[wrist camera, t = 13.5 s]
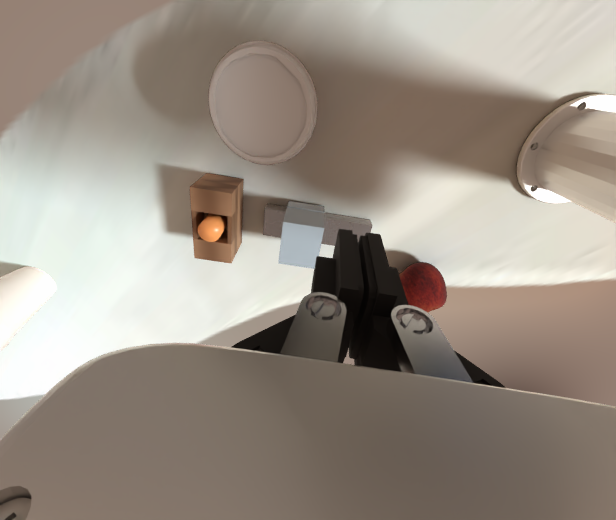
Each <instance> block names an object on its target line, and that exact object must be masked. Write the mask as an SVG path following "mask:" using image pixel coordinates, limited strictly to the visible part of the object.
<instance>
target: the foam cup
mask: <svg viewBox="0 0 616 520" xmlns="http://www.w3.org/2000/svg"><path fill="white" fill-rule="evenodd" d="M56 290H57V289H56V283H55V282H54V280H53V279H52V277H51V276H49V275H48V274H47V273H45V272H44V271H42V270H40V269H38V268H35V267H29V266H25V267H22V268H20V269H17V270H15V271H13V272H10V273H8V274H6V275H4V276H2V277H0V351H1V350H2V349H4V348H5V347H6V346H7V345H8V344H9V342H10V341H11V339H12V338H13V337H14V336H15V335H16V333H17V332H18V331H19V330H20V329H21V328H22V327H23V326H24V325H25V324H26V323H27V322H28V321H29V320H30V319H31V317H32V316H33V315H34V314H35V313H36V312H37V311H38V310H39V309H40V308H41V307H42V306H43V305H44V304H45V303H46V301H47V300H48V299H49V298H50V297H51V296H52V295H53V294H54V292H55V291H56Z"/></svg>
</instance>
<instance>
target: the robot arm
mask: <svg viewBox="0 0 616 520" xmlns="http://www.w3.org/2000/svg"><path fill="white" fill-rule="evenodd" d="M517 178H518V181H519V184H520V186H521V188H522V189H523V190H524V191H525V192H526V193H527V194H528V195H529V196H531V197H533V198H534V199H536V200H539V201H541V202H546V203H564V202H569V201H571V202H573V203H575V204H577V205H579V206H582V207H584V208H586V209H588V210H590V211H592V212H594V213H596V214H598V215H600V216H602V217H604V218H606V219H608V220H610V221H612V222H614V223H616V95H610V94H591V95H587V96H582V97H579V98H576V99H574V100H571V101H569V102H567V103H565V104H563V105H562V106H560V107H558V108H556V109H555V110H554V111H552V112H551V113H550V114H549V115H547V116H546V117H545V118H544V119H543V120H542V121H541V122H540V123H539V124H538V125H537V126H536V127H535V128H534V130H533V131H532V132H531V133H530V135H529V136H528V138H527V139H526V141H525V143H524V145H523V146H522V149H521V152H520V154H519V157H518V162H517ZM348 348H349V357H350V358H353V359H354V362H355V365H351V364H344V363H343V361H344V358H345V357H346V354H347V351H348ZM0 520H616V407H614V406H609V405H603V404H598V403H593V402H588V401H582V400H577V399H572V398H565V397H559V396H552V395H546V394H540V393H534V392H527V391H521V390H514V389H508V388H505V387H504V386H503V385H502V384H501V383H499V382H498V381H497V380H495V379H494V378H492V377H491V376H490V375H488V374H487V373H485V372H484V371H483V370H481V369H480V368H478V367H477V366H475V365H474V364H472V363H471V362H470V361H468V360H467V359H466V358H464V357H463V356H461V355H460V354H458V353H457V352H456V351H454V350H453V348H452V347H451V345H450V343H449V342H448V340H447V338H446V337H445V335H444V334H443V332H442V330H441V328H440V327H439V325H438V324H437V322H436V321H435V319H434V318H433V317H432V316H431V315H430V314H429V313H427V312H426V311H424V310H422V309H420V308H418V307H415V306H411V305H409V304H408V301H407V298H406V295H405V292H404V289H403V286H402V283H401V279H400V276H399V273H398V270H397V268H394V267H389V264H388V260H387V257H386V253H385V250H384V246H383V243H382V239H381V236H380V234H373V233H366V234H365V236H363V235H361V236H360V238H359V242H358V239H357V235H356V234H353V232H352V230H346V229H339V230H338V234H337V239H336V244H335V249H334V254H333V258H326V257H319V256H317V257H316V262H315V269H314V275H313V282H312V289H311V294H308V295H307V296H305V297H304V298H303V299H302V301H301V303H300V306H299V308H298V311H297V313H296V315H294V316H292V317H290V318H288V319H286V320H284V321H282V322H279V323H277V324H275V325H273V326H271V327H269V328H267V329H265V330H263V331H261V332H259V333H257V334H255V335H253V336H251V337H249V338H246V339H244V340H242V341H240V342H239V343H237V344H235V345H234V346H232V347H222V346H213V345H204V344H193V343H161V344H148V345H142V346H136V347H129V348H125V349H120V350H116V351H113V352H110V353H107V354H103V355H101V356H99V357H97V358H94V359H92V360H90V361H88V362H86V363H85V364H83V365H81V366H80V367H78V368H77V369H75V370H74V371H72V372H71V373H70V374H68V375H67V376H66V377H65V378H63V379H62V380H61V381H60V382H58V383H57V384H56V385H55V386H54V387H53V388H52V389H51V390H50V391H49V392H47V393H46V394H45V395H44V396H43V397H42V398H41V399H40V400H39V401H38V402H36V403H35V404H34V405H33V406H32V407H31V408H30V409H29V410H28V411H27V412H26V413H25V414H24V415H23V416H22V417H21V418H20V419H19V420H18V421H17V422H16V423H15V424H14V425H13V426H12V428H10V429H9V430H8V431H7V433H6V434H5V435H4V436H3V437H2V438H1V439H0Z"/></svg>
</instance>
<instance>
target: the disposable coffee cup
mask: <svg viewBox="0 0 616 520" xmlns="http://www.w3.org/2000/svg"><path fill="white" fill-rule="evenodd" d="M208 103H209V110H210V115H211V118H212V121H213V124H214V126H215V129H216V131H217V132H218V134H219V136H220V137H221V139H222V140H223V142H224V143H225V144H226V145H227V146H228V147H229V148H230V149H231V150H232V151H233V152H234V153H236V154H237V155H239V156H240V157H242V158H243V159H245V160H248V161H251V162H253V163H257V164H263V165H272V164H279V163H282V162H284V161H287V160H289V159H291V158H292V157H294V156H295V155H297V154H298V153H299V152H300V151H301V150H302V149H303V148H304V147H305V146H306V144H307V143H308V141H309V140H310V138H311V136H312V133H313V131H314V128H315V125H316V119H317V114H318V109H317V96H316V91H315V87H314V84H313V81H312V79H311V77H310V75H309V73H308V71H307V70H306V68H305V67H304V65H303V64H302V63H301V62H300V60H299V59H298V58H297V57H296V56H295V55H293V54H292V53H291V52H290V51H288V50H287V49H285V48H284V47H282V46H280V45H277V44H275V43H272V42H266V41H249V42H246V43H243V44H239V45H238V46H236V47H234V48H233V49H231V50H230V51H228V52H227V53H226V54H225V55H224V56H223V57H222V59H221V60H220V61H219V63H218V64H217V66H216V68H215V69H214V72H213V75H212V77H211V80H210V86H209V93H208Z"/></svg>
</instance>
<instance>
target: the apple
mask: <svg viewBox="0 0 616 520" xmlns="http://www.w3.org/2000/svg"><path fill="white" fill-rule="evenodd" d="M399 276H400V279H401V283H402V286H403V289H404V292H405V295H406V298H407V301H408V304H409V305H411V306H415V307H418V308H420V309H422V310H424V311H426V312H427V313H428V312H429V311H432V310H435V309H438V308H440V307H442V306H443V305H444V303H445V301H446V297H447V292H446V286H445V282H444V279H443V277H442V275H441V273H440V272H439V271H438V269H437V268H435V267H434V266H433V265H431V264H429V263H424V262H419V263H415V264H413V265H410V266H409V267H408V268H406V269H405V270H404V271H403V272H402V273H400V274H399Z"/></svg>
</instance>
